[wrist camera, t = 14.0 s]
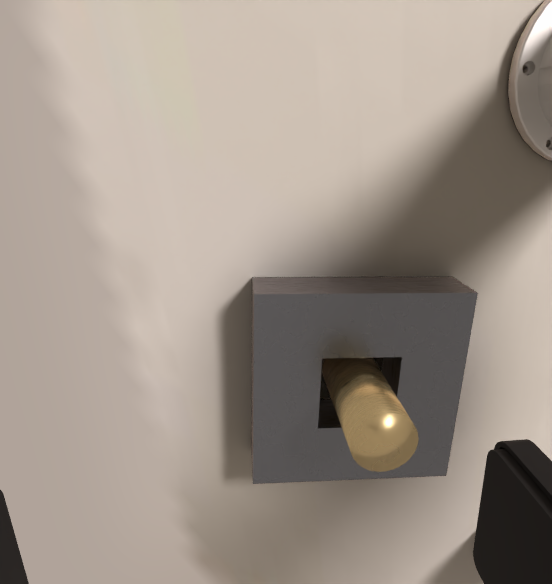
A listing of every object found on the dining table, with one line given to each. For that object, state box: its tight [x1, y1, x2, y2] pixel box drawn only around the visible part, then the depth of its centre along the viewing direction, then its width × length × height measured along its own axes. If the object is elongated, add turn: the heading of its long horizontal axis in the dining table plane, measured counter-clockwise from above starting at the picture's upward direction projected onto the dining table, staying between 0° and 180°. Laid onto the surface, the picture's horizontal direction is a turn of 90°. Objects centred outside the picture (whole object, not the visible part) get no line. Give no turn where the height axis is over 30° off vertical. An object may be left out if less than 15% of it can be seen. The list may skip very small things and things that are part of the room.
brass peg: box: [322, 358, 418, 472], centre depth 33 cm, size 4×4×10 cm
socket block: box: [251, 277, 478, 484], centre depth 36 cm, size 16×16×4 cm
